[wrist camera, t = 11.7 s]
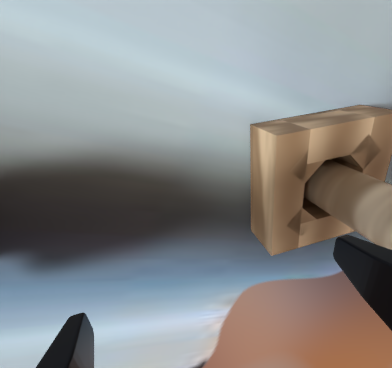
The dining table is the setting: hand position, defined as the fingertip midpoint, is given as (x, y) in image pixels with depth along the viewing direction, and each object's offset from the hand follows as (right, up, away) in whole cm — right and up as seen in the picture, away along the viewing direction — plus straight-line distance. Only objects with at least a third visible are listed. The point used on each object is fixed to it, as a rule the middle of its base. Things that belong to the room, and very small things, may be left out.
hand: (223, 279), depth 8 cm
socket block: (+9, +4, +16) cm, 19 cm away
